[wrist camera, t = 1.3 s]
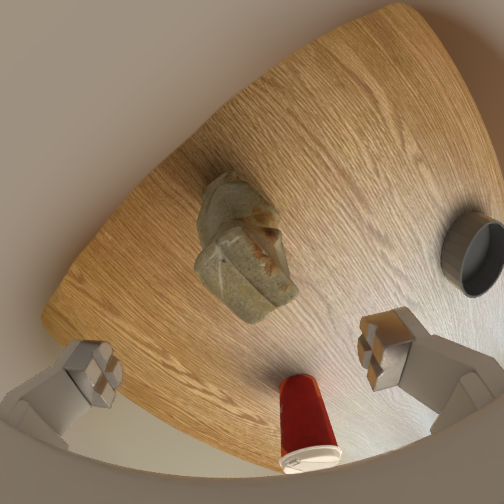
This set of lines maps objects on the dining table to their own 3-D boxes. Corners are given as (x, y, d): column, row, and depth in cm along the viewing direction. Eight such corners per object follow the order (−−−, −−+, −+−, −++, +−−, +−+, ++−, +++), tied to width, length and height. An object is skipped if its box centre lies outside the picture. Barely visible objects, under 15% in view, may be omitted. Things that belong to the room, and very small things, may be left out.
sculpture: (239, 248, 28) (231, 349, 14) (196, 191, 26) (139, 247, 12) (287, 217, 27) (327, 296, 13) (245, 156, 24) (242, 170, 11)
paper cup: (261, 391, 37) (266, 473, 24) (296, 362, 34) (313, 451, 21) (299, 405, 38) (311, 479, 25) (334, 379, 36) (357, 457, 23)
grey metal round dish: (445, 212, 27) (468, 224, 22) (492, 208, 26) (513, 218, 22) (435, 288, 31) (452, 305, 26) (481, 275, 30) (498, 289, 26)
